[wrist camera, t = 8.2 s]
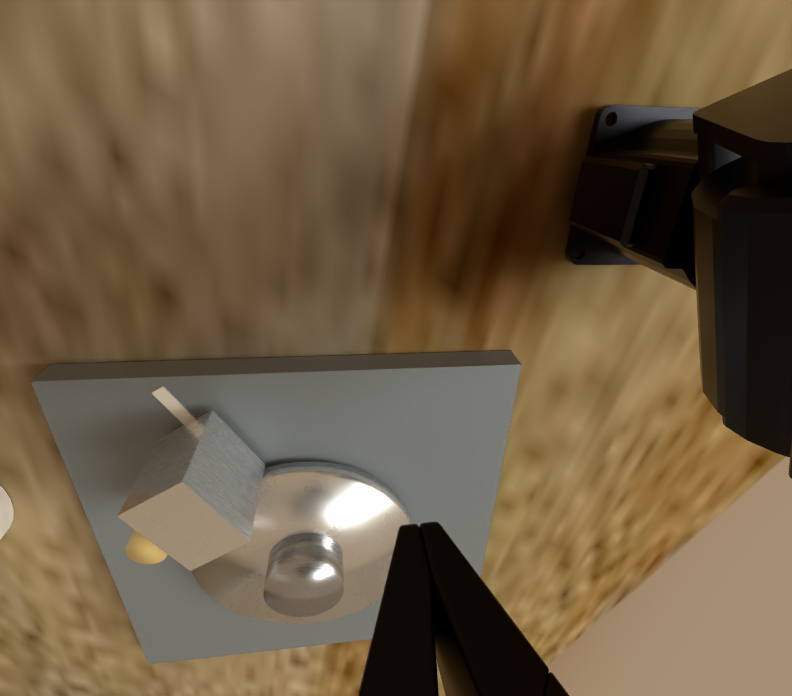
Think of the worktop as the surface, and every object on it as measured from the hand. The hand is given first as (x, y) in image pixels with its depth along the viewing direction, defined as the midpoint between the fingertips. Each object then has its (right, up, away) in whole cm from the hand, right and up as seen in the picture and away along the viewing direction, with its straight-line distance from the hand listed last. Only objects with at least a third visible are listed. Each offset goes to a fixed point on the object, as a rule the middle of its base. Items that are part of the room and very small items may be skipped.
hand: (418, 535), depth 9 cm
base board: (-6, -6, +17) cm, 19 cm away
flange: (-7, -6, +15) cm, 17 cm away
